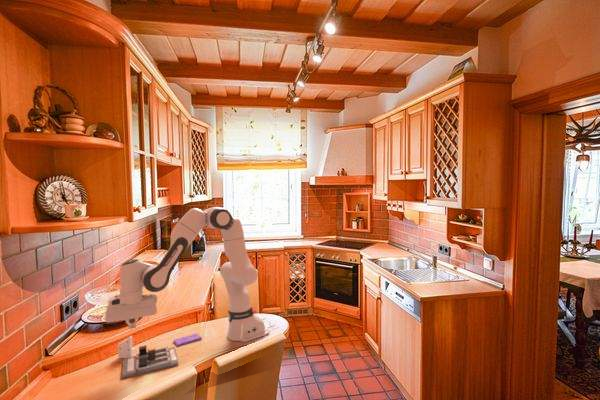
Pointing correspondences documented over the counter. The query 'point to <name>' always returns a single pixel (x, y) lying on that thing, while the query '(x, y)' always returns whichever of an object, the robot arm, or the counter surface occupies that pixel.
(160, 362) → the breaker panel
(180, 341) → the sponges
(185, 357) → the counter surface
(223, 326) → the counter surface
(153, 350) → the breaker
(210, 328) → the counter surface
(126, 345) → the white angled block
